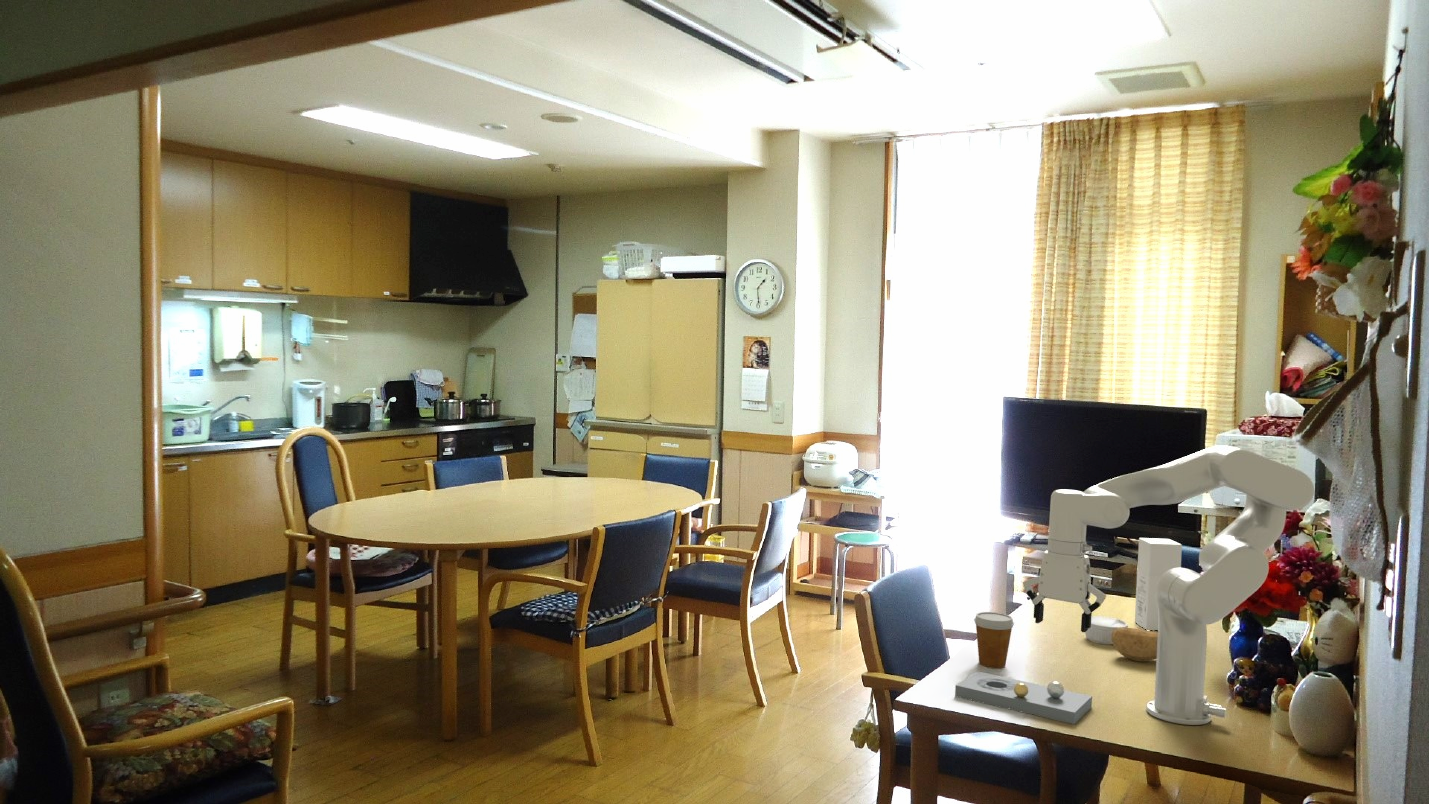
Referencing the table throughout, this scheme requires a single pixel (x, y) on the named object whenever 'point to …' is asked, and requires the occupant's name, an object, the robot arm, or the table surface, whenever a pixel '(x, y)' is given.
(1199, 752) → the table surface
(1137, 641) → the potato
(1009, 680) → the hole board
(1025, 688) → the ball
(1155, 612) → the tall white carton
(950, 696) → the table surface
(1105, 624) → the ramekin
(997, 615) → the disposable coffee cup
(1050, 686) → the ball
